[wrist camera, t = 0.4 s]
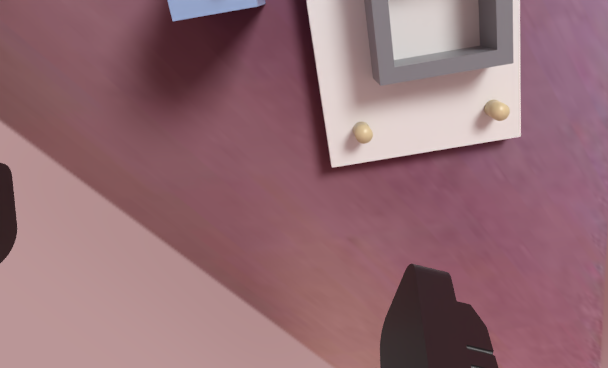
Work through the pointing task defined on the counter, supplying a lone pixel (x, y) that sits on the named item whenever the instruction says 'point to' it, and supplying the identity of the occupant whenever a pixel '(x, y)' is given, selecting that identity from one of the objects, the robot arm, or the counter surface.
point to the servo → (207, 7)
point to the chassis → (415, 75)
